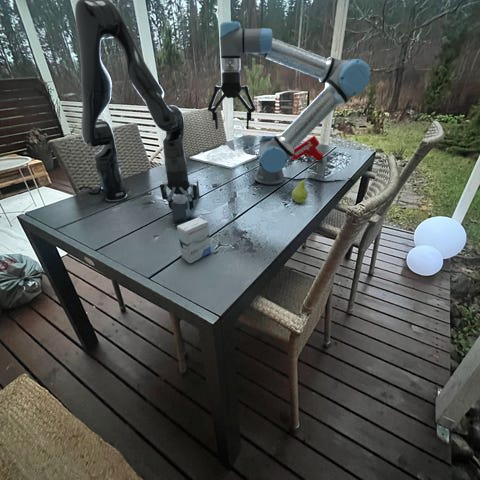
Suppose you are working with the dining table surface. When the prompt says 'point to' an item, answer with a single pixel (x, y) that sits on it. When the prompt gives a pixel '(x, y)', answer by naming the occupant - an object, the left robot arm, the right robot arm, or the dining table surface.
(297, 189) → the fruit
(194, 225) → the ink box
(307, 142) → the toy gun
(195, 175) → the dining table surface
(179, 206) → the bar
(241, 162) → the relief map
